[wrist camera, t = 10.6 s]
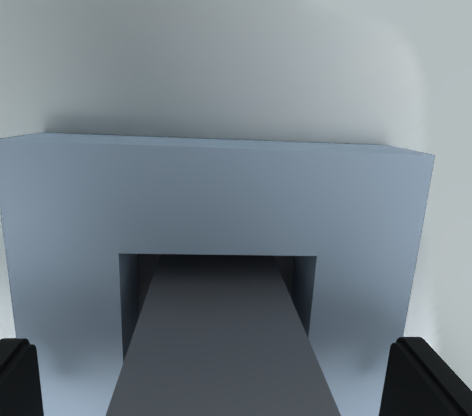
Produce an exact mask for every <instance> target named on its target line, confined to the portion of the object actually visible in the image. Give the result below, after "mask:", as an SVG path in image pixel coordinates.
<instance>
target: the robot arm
mask: <svg viewBox="0 0 472 416" xmlns="http://www.w3.org/2000/svg"><path fill="white" fill-rule="evenodd" d="M0 416H44V411H43V402H42V393H41V384H40V375H39V366H38V357H37V349H36V346H35V345H34V344H30V342H29V340H28V339H26V338H4V339H1V340H0ZM379 416H472V391H471V390H470V389H469V388H468V387H467V386H466V385H465V383H464V382H463V381H462V380H461V379H460V378H459V377H458V376H457V375H456V374H455V373H454V371H453V370H452V369H450V367H449V366H448V365H447V364H446V363H445V362H444V361H443V360H442V358H441V357H440V356H439V355H438V354H437V353H436V352H435V351H434V350H433V349H432V348H431V347H430V345H429V344H428V343H427V342H426V341H425V340H424V339H423V338H421V337H399V338H398V339H397V340H396V343H392V344H391V346H390V351H389V357H388V363H387V369H386V375H385V380H384V386H383V392H382V398H381V404H380V410H379Z"/></svg>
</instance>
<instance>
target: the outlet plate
mask: <svg viewBox="0 0 472 416" xmlns="http://www.w3.org/2000/svg"><path fill="white" fill-rule="evenodd" d="M434 158H435V155H432V154H427V153H422V152H417V151H413V150H408V149H403V148H398V147H393V146H389V145H371V144H343V143H316V142H288V141H261V140H233V139H206V138H178V137H150V136H123V135H95V134H68V133H35V134H29V135H22V136H15V137H8V138H1V139H0V212H1V220H2V228H3V236H4V244H5V252H6V260H7V268H8V276H9V284H10V292H11V300H12V307H13V315H14V323H15V331H16V338H26V339H28V340H29V342H30V344H34V345H35V346H36V349H37V357H38V366H39V375H40V384H41V393H42V402H43V411H44V416H106V413H107V410H108V407H109V404H110V401H111V398H112V395H113V392H114V389H115V386H116V383H117V380H118V377H119V375H120V372H121V369H122V366H123V363H124V360H125V357H126V354H127V351H128V348H129V345H130V342H131V339H132V336H133V333H134V330H135V328H136V325H137V322H138V319H139V316H140V313H141V310H142V307H143V304H144V301H145V298H146V295H147V292H148V289H149V286H150V284H151V281H152V278H153V275H154V272H155V269H156V266H157V263H158V260H159V257H160V254H201V255H273V257H274V259H275V261H276V264H277V266H278V268H279V271H280V273H281V276H282V278H283V280H284V283H285V285H286V287H287V290H288V292H289V294H290V297H291V299H292V301H293V304H294V306H295V309H296V311H297V313H298V316H299V318H300V320H301V323H302V325H303V327H304V330H305V332H306V334H307V337H308V339H309V341H310V344H311V346H312V349H313V351H314V353H315V356H316V358H317V360H318V363H319V365H320V367H321V370H322V372H323V374H324V377H325V379H326V381H327V384H328V386H329V389H330V391H331V393H332V396H333V398H334V400H335V403H336V405H337V407H338V410H339V412H340V414H341V416H379V410H380V404H381V398H382V392H383V386H384V380H385V375H386V369H387V363H388V357H389V351H390V346H391V344H392V343H396V340H397V339H398V338H399V337H403V333H404V328H405V322H406V316H407V311H408V305H409V299H410V294H411V288H412V282H413V277H414V271H415V266H416V260H417V254H418V249H419V243H420V237H421V232H422V226H423V220H424V215H425V209H426V204H427V198H428V192H429V187H430V181H431V175H432V170H433V164H434Z"/></svg>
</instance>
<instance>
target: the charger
mask: <svg viewBox="0 0 472 416" xmlns="http://www.w3.org/2000/svg"><path fill="white" fill-rule="evenodd" d="M106 416H341V414H340V412H339V410H338V407H337V405H336V403H335V400H334V398H333V396H332V393H331V391H330V389H329V386H328V384H327V381H326V379H325V377H324V374H323V372H322V370H321V367H320V365H319V363H318V360H317V358H316V356H315V353H314V351H313V349H312V346H311V344H310V341H309V339H308V337H307V334H306V332H305V330H304V327H303V325H302V323H301V320H300V318H299V316H298V313H297V311H296V309H295V306H294V304H293V301H292V299H291V297H290V294H289V292H288V290H287V287H286V285H285V283H284V280H283V278H282V276H281V273H280V271H279V268H278V266H277V264H276V261H275V259H274V257H273V255H201V254H160V257H159V260H158V263H157V266H156V269H155V272H154V275H153V278H152V281H151V284H150V286H149V289H148V292H147V295H146V298H145V301H144V304H143V307H142V310H141V313H140V316H139V319H138V322H137V325H136V328H135V330H134V333H133V336H132V339H131V342H130V345H129V348H128V351H127V354H126V357H125V360H124V363H123V366H122V369H121V372H120V375H119V377H118V380H117V383H116V386H115V389H114V392H113V395H112V398H111V401H110V404H109V407H108V410H107V413H106Z"/></svg>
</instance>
